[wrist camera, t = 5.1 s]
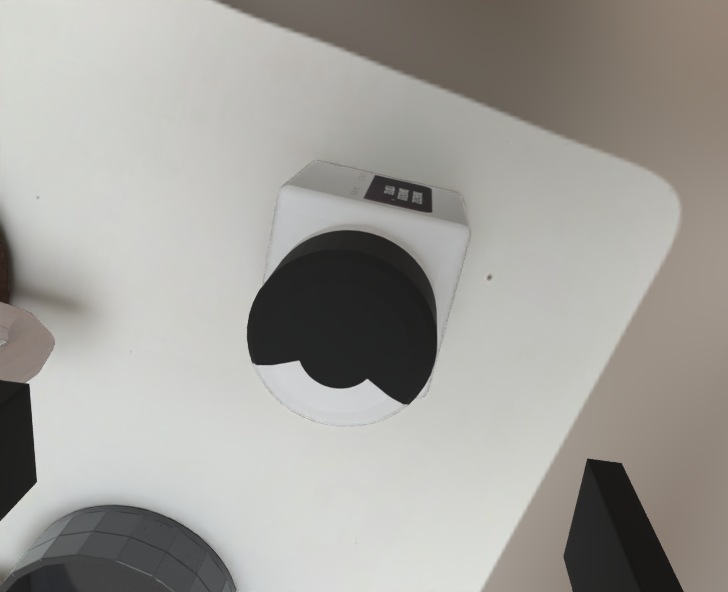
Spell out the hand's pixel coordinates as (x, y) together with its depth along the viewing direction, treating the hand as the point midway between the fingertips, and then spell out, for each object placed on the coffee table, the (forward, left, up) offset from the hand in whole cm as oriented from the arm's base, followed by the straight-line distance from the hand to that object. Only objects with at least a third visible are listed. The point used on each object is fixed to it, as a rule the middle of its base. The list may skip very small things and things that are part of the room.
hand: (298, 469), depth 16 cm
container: (0, 0, -20) cm, 20 cm away
